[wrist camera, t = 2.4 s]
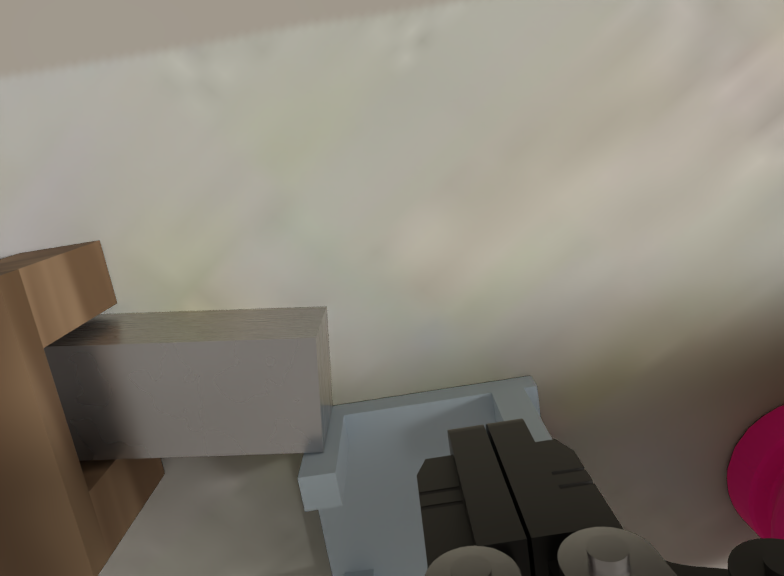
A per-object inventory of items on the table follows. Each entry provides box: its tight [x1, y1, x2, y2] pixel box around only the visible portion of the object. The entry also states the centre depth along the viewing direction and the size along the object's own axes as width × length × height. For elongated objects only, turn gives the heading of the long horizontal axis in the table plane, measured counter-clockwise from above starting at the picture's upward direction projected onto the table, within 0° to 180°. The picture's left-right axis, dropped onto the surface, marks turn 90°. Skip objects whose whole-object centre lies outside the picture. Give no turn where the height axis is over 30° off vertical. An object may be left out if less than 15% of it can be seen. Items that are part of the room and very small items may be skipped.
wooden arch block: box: [0, 240, 165, 576], centre depth 20 cm, size 3×10×6 cm, turn 9°
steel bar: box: [44, 306, 333, 461], centre depth 21 cm, size 16×4×4 cm, turn 92°
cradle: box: [298, 376, 552, 576], centre depth 22 cm, size 9×8×5 cm
